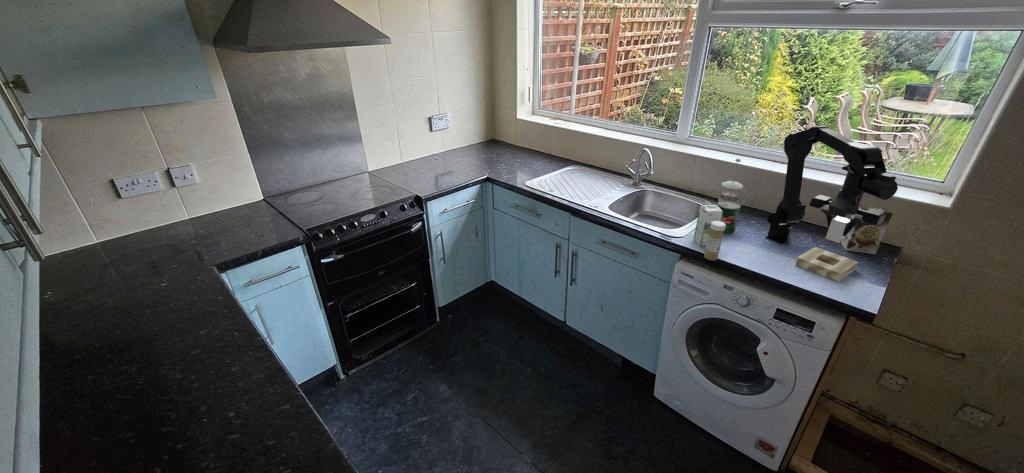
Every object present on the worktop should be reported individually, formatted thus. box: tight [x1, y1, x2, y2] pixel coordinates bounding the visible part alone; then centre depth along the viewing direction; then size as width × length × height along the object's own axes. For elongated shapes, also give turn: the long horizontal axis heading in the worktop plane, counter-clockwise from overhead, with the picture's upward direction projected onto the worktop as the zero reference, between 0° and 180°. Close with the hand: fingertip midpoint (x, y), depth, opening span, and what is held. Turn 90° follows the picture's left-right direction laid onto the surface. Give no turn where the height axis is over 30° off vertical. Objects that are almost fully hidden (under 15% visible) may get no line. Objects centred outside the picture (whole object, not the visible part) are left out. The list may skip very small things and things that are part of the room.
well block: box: [794, 246, 859, 283], centre depth 145 cm, size 13×13×3 cm
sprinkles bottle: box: [703, 221, 726, 261], centre depth 149 cm, size 5×5×13 cm
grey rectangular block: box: [824, 216, 851, 244], centre depth 139 cm, size 4×4×7 cm
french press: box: [717, 158, 749, 207], centre depth 178 cm, size 10×12×25 cm
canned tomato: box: [717, 200, 741, 236], centre depth 169 cm, size 8×8×11 cm
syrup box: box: [693, 204, 723, 247], centre depth 158 cm, size 6×6×14 cm
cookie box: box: [840, 203, 893, 255], centre depth 153 cm, size 9×6×16 cm
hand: (836, 233), depth 140 cm, fingers closed on grey rectangular block, 4 cm apart
